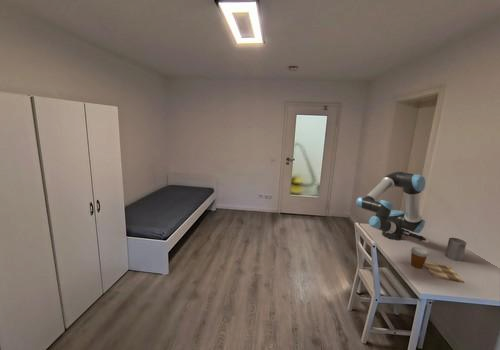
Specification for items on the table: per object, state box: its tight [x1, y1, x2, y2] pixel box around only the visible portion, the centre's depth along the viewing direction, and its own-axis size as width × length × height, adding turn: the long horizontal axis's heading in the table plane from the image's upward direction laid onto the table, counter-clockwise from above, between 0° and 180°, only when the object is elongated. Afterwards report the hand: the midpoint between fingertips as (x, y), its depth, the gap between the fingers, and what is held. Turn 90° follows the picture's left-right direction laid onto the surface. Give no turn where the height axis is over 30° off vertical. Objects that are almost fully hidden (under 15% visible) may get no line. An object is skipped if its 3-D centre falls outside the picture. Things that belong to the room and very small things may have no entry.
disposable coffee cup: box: [410, 247, 429, 270], centre depth 155 cm, size 10×10×12 cm
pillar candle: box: [444, 237, 467, 262], centre depth 168 cm, size 10×10×15 cm
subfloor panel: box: [423, 261, 465, 284], centre depth 151 cm, size 17×16×1 cm
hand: (419, 237), depth 155 cm, fingers open, 13 cm apart
